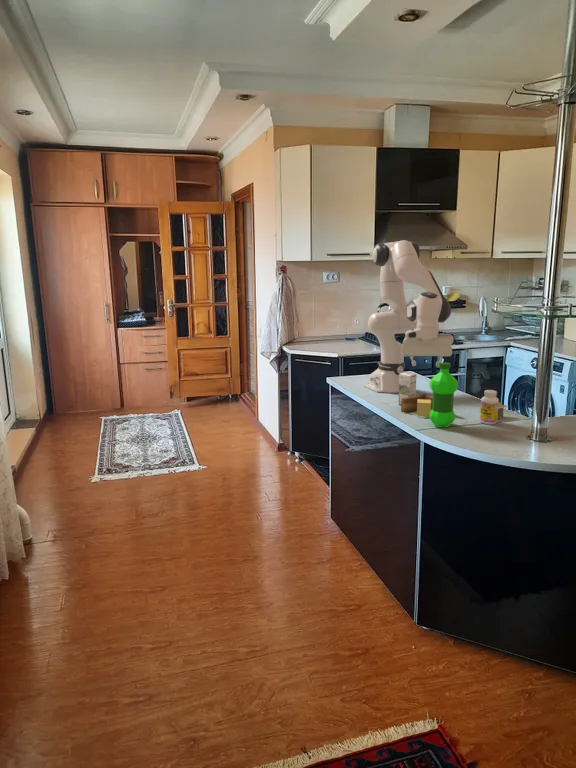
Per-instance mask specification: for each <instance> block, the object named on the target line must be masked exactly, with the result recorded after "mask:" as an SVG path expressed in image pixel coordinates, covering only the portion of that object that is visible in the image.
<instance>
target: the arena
mask: <svg viewBox="0 0 576 768" xmlns="http://www.w3.org/2000/svg"><path fill="white" fill-rule="evenodd" d="M418 399H424V400H431V410H432V400H433V395H430V394H426V393H421V394H417V395H416V396H411V397H406V398H401V405H400V412H401V413H403V412H404V414H405V412H406V413H411V412H416V411H417V401H418ZM415 410H416V411H415ZM410 411H411V412H410Z"/></svg>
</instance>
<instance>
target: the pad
mask: <svg viewBox="0 0 576 768" xmlns="http://www.w3.org/2000/svg"><path fill="white" fill-rule="evenodd" d="M409 414H410V415H412V414H413V415H412V416H415V417H417V418H421V419H428V418H430V417H429V416H422V415H417V411H412V412H409ZM427 417H428V418H427Z"/></svg>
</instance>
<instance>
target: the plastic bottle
mask: <svg viewBox="0 0 576 768" xmlns="http://www.w3.org/2000/svg"><path fill="white" fill-rule="evenodd" d="M451 366H452V365H451V363H450V362H444V361H443V362H442V361H441V362H440V363H439V367H438V368H439V372H438V373H436V374H435V375H434V376H432V378H431V379H430V381H429V388H430V390H431V391H432V396H433V400H432V410H431V411H430V414H429V417H428V418H429V420H430V421H431V423H432V424H433V425H434V426H435V425H436V426H435V427H437V426H438V428H448V427H449V426H450V425H451V424H453V423H454V421H455V419H456V414H455V412H454V401H455V400H454V396H455V392H456V391H457V390H458V388H459V383H458V380H457V379H456V378H455V377H454V375H452V373H450V369H451ZM447 426H448V427H447Z"/></svg>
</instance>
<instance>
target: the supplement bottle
mask: <svg viewBox="0 0 576 768" xmlns="http://www.w3.org/2000/svg"><path fill="white" fill-rule="evenodd" d="M483 394H484V396H482V397H481V399H480V413H479V422H480V423H482V424H484V425H495V424H497V423H498V418H499V417H498V405H499V403H500V402H499V401H500V400H499V398H498V397H497V394H498V392H497V390H493V389H486V390H484V393H483Z"/></svg>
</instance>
